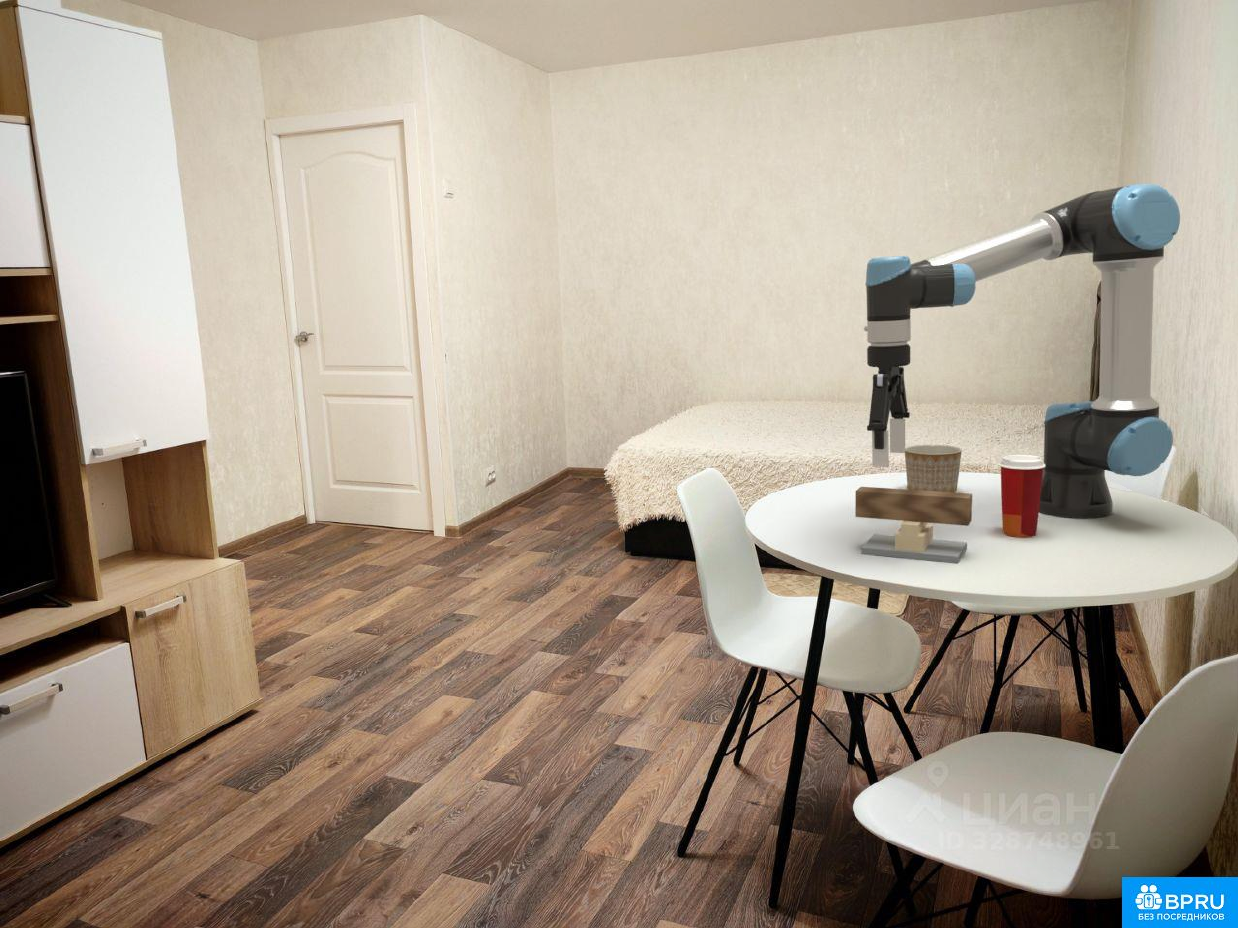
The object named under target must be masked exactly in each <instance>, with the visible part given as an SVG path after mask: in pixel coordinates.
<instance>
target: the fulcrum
mask: <svg viewBox="0 0 1238 928" xmlns="http://www.w3.org/2000/svg"><path fill="white" fill-rule="evenodd" d="M967 549H968V542H967V541H955V540H946V539H944V540H943V539H936V538H934V523H926V522H913V521H901V523H900V528H899V530H897V532H895V533H894V535H892V534H891V535H888V534H879V533H878V534H877V533H874V534H873V535H872V536H871V537H870V538H869V539H868V540H867V541H866V542H865V543H864V544H863V545H862V546H861V549H860V550H861V551H860V554H862V555H870V556H871V555H872V556H880V557H882V556H883V557H891V558H899V559H901V558H902V559H911V560H922V561H930V562H931V561H932V562H940V563H950V564H952V563H953V564H959V562H960V561H961V559H962V558H963V555H965V552H966V551H967Z"/></svg>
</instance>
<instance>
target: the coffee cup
mask: <svg viewBox="0 0 1238 928" xmlns="http://www.w3.org/2000/svg"><path fill="white" fill-rule="evenodd" d="M999 461H1000V462H999V463H998V464H997V466H999V467H1000V482H1001V483H1000V492H1001V493H1000V494H1001V523H1002V524H1001V525H1002V533H1003V534H1004V535H1006V536H1009V537H1013V538H1032V537H1035V536H1036V535H1037V529H1038V523H1039V513H1040V512H1039V505H1040V496H1041V487H1042V477H1043V468H1044V467H1045V464H1044V459H1042V457H1041V456H1037V455H1029V454H1008V455H1003V456H1002V458H1001V459H1000V460H999Z"/></svg>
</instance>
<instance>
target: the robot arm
mask: <svg viewBox="0 0 1238 928" xmlns="http://www.w3.org/2000/svg"><path fill="white" fill-rule="evenodd" d="M1180 224H1181V212H1180V208H1179V205H1178V203H1177V200H1176V199H1175V197H1174V196H1173V195H1172V194H1171V193H1169V191H1168V190H1167V189H1165V188H1164V187H1162V186H1160V185H1158V184H1153V183H1145V184H1144V183H1143V184H1142V183H1141V184H1136V183H1134V184H1131V185H1125V186H1121V187H1115V188H1110V189H1104V190H1098V191H1093V192H1089V193H1085V194H1082V195H1080V196H1078V197H1075V198H1072V199H1070V200H1068V201H1066V202H1063V203H1061V204H1060V205H1057V206H1055V207H1052V208H1050V209H1047V210H1045V211H1041V212H1038V213H1036V214H1035V215H1034V216H1033V217H1032V219H1031V220H1030V221H1029V222H1027V223H1024V224H1020V225H1017V226H1015V227H1012V228H1009V229H1007V230H1003V231H1001V232H998V233H994V234H993V235H990V236H986V237H983V238H981V239H979V240H976V241H973V242H970V243H967V244H964V245H962V246H959V247H956V248H953V249H950V250H947V251H944V252H942V253H939V254H936V255H933V256H930V257H928V258H925V259H923V260H920V261H917V262H914V263H912V264H911V259H910V257H909V256H907V255H897V256H896V255H895V256H883V257H874V258H870V259H869V260H868V262H867V265H866V272H865V273H866V275H865V276H866V277H865V279H866V280H865V290H866V320H867V321H866V326H865V325H864V328H863V330H864V331H865V332H866V334H867V336H866V337H867V339H866V341H867V342H868V344H870V345H868V346H867V348H866V353H867V354H866V358H867V361H866V362H867V366H868V367H870V368H878V373H877V374H876V373H875V374H873V375H872V393H871V399H870V400H871V403H870V410H869V419H868V420H869V421H868V425H867V426H866V429H867V432H869V431H870V432H871V438H872V439H871V441H872V442H871V450H872V451H871V453H872V457H871V458H872V459H871V460H872V464H871V465H872V467H877V468H879V467H880V468H888V467H889V466H890V464H889V463H890V458H889V457H890V456H889V454H890V453H892V454H893V453H895V454H905V448H906V419H910V416H911V412H909V408H908V401H907V393H906V386H905V385H906V384H905V374H904V373H905V369H904V368H905V367H906V366H909V365H910V364H911V346H910V344H909V343H908V342H910V341H911V338H912V335H911V328H912V327H911V326H912V325H911V310H915V309H916V310H917V309H926V308H927V309H928V308H929V309H930V308H944V307H945V308H946V307H950V308H953V307H955V306H963V305H966V304H968V303H969V302H970V301H971V300H972V299H973V297H974V295H975V292H976V282H979V281H983V280H984V279H987V278H990V277H994V276H996V275H998V274H1002V273H1004V272H1007V271H1010V270H1013V269H1016V268H1018V267H1020V266H1024V265H1028V264H1029V263H1032V262H1035V261H1038V260H1041V259H1043V260H1046V261H1053V260H1056V259H1058V258H1062V257H1065V256H1072V255H1082V254H1092V265H1093V266H1095V268H1097V269H1098V270H1099V271H1100V272H1101V277H1100V279H1101V285H1100V287H1101V288H1100V289H1101V290H1100V335H1099V337H1100V342H1099V343H1100V346H1099V396H1098V397H1097V399H1095V400H1094V401H1076V402H1074V401H1073V402H1062V403H1054V404H1053V403H1052V404H1050V405H1049V406H1048V407H1047V408H1046V411H1045V416H1044V421H1043V423H1044V434H1043V435H1044V437H1043V438H1044V439H1043V441H1044V442H1043V462H1044V464H1045V467H1044V468H1043V477H1042V487H1041V496H1040V505H1039V513H1042V514H1046V515H1050V516H1057V517H1064V518H1077V519H1082V518H1083V519H1084V518H1086V519H1087V518H1100V517H1105V516H1109V515H1111V514H1112V513H1113V505H1114V504H1113V498H1112V495H1111V493H1110V489H1109V485H1108V483H1107V482H1108V481H1107V480H1106V479H1107V478H1106V475H1105V474H1106V473H1105V472H1106V471H1107V472H1111V473H1114V474H1116V475H1120V476H1130V477H1142V476H1146V475H1149V474H1151V473H1153V472H1155V471H1156V470H1158V469H1159V468H1160V466H1161V465H1162V464H1164V463H1165V462H1166V460H1167V459H1168V457H1169V456H1170V454H1171V451H1172V448H1173V445H1174V444H1173V443H1174V437H1173V436H1174V435H1173V431H1172V429H1171V427H1170V426H1168V423H1167V422H1166V421H1165V420H1163V419H1161V418H1160V403H1159V402H1157V400H1155V399H1154V398H1153V397H1152V395H1151V390H1152V389H1151V386H1152V385H1151V381H1152V380H1151V379H1152V377H1151V376H1152V349H1153V348H1152V346H1153V345H1152V344H1153V315H1154V314H1153V310H1154V309H1153V307H1154V277H1155V276H1154V271H1155V268H1156V266H1157V265H1158V264H1159V263H1160V262H1161V261H1162V260H1163V259H1164V257H1165V256H1164V253H1165V251H1164V250H1165V247H1166V246H1167V245H1168V244H1169V243H1170V242H1171V241H1172V240H1174V236H1176V235H1177V233H1178V230H1179V229H1180V228H1179V227H1180ZM889 417H890V418H889ZM888 423H889V429H888Z"/></svg>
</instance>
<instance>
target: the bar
mask: <svg viewBox="0 0 1238 928" xmlns="http://www.w3.org/2000/svg"><path fill="white" fill-rule="evenodd" d="M854 502H855V503H854V504H855V518H861V519H862V518H864V519H865V518H866V519H877V520H890V521H901V522H903V521H913V522H926V523H928V524H941V525H951V526H952V525H953V526H967V527H969V525H970V524H971V522H972V519H973V518H972V517H973V516H972V515H973V514H972V513H973V511H972V510H973V493H969V492H967V493H966V492H939V491H923V490H908V488H907V489H905V488H904V489H902V488H887V487H872V486H871V487H870V486H859V488H858V489H856V490H855V501H854Z"/></svg>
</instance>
